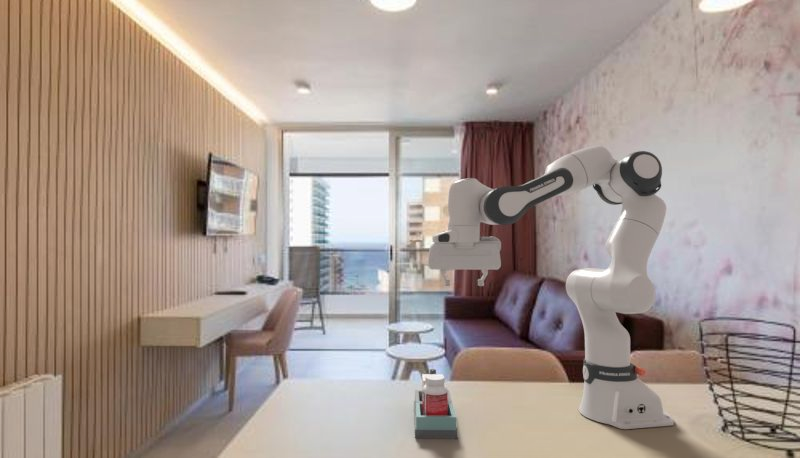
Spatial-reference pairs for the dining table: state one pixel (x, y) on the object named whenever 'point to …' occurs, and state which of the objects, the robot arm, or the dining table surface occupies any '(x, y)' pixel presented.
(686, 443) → the dining table surface
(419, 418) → the teal tray with block
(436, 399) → the pill bottle
